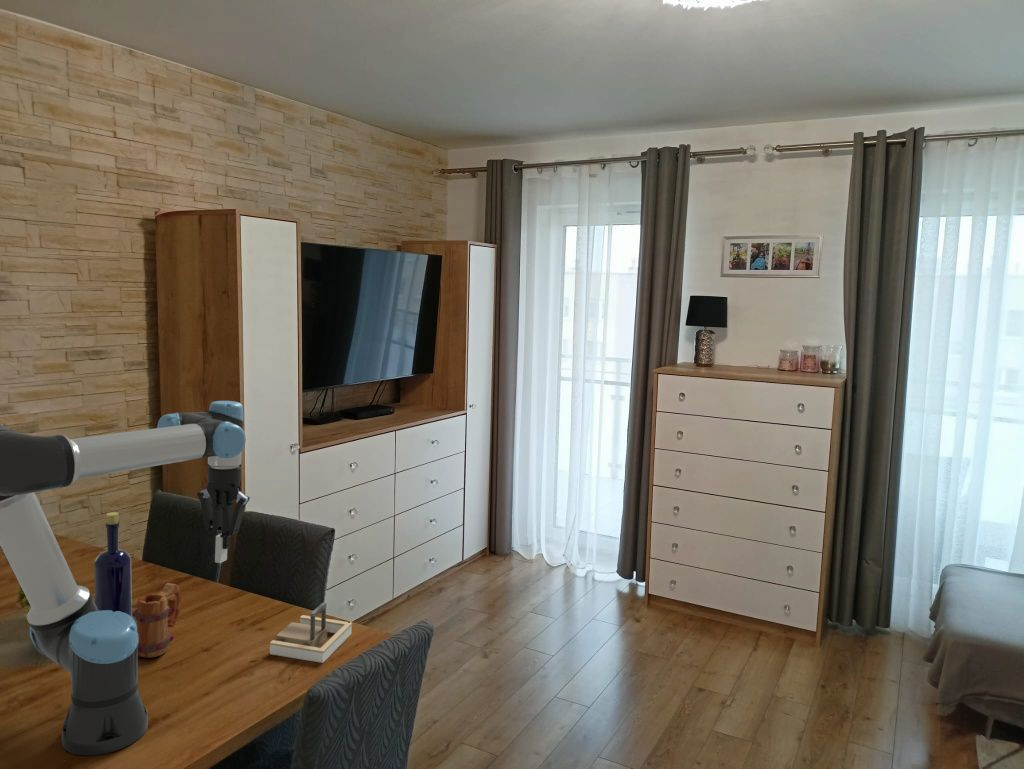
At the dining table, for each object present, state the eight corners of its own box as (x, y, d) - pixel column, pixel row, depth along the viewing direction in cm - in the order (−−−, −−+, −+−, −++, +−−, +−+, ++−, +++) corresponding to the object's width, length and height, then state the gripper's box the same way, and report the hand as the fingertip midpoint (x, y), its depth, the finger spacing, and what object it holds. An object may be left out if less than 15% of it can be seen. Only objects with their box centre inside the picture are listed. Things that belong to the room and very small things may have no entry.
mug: (154, 665, 176) (154, 604, 174) (124, 660, 177) (123, 599, 176) (192, 637, 190) (192, 581, 188) (164, 633, 192) (164, 577, 190)
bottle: (139, 626, 195) (138, 514, 191) (101, 636, 188) (99, 521, 184) (125, 614, 201) (124, 506, 197) (88, 624, 194) (86, 512, 191)
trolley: (310, 654, 185) (311, 616, 184) (274, 648, 187) (274, 610, 186) (328, 638, 194) (329, 600, 193) (293, 632, 196) (294, 595, 195)
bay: (323, 663, 181) (323, 651, 181) (269, 654, 184) (269, 642, 184) (351, 633, 197) (352, 622, 197) (302, 625, 200) (302, 615, 200)
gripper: (257, 465, 181) (253, 560, 183) (210, 459, 184) (206, 552, 186) (240, 471, 174) (236, 569, 176) (190, 465, 177) (187, 561, 179)
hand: (220, 560), depth 181 cm, fingers closed
